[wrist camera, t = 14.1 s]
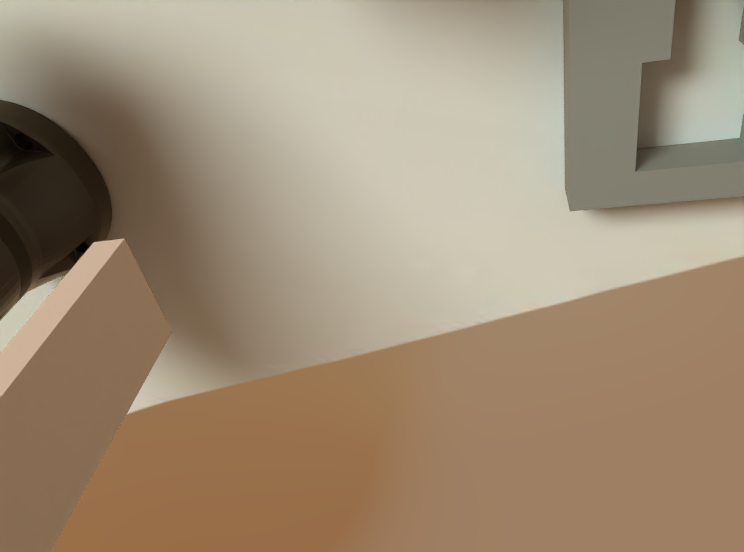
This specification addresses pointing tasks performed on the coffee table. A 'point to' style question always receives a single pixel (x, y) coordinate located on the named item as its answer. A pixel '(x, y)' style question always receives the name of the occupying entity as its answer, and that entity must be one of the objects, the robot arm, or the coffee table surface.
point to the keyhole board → (630, 113)
